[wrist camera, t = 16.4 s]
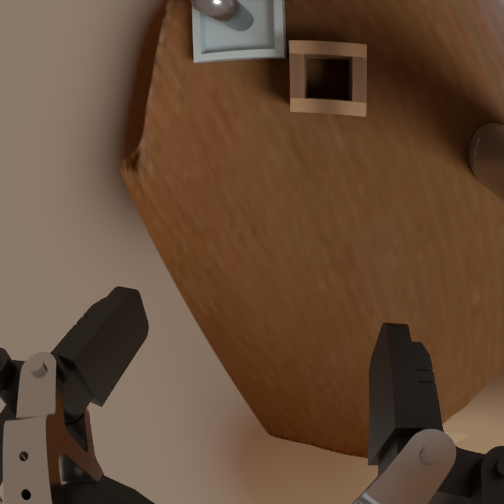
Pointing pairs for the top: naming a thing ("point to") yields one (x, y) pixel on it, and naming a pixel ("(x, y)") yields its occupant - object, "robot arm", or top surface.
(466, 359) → the top surface
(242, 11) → the pin
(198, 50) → the tray
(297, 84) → the square hollow tube
